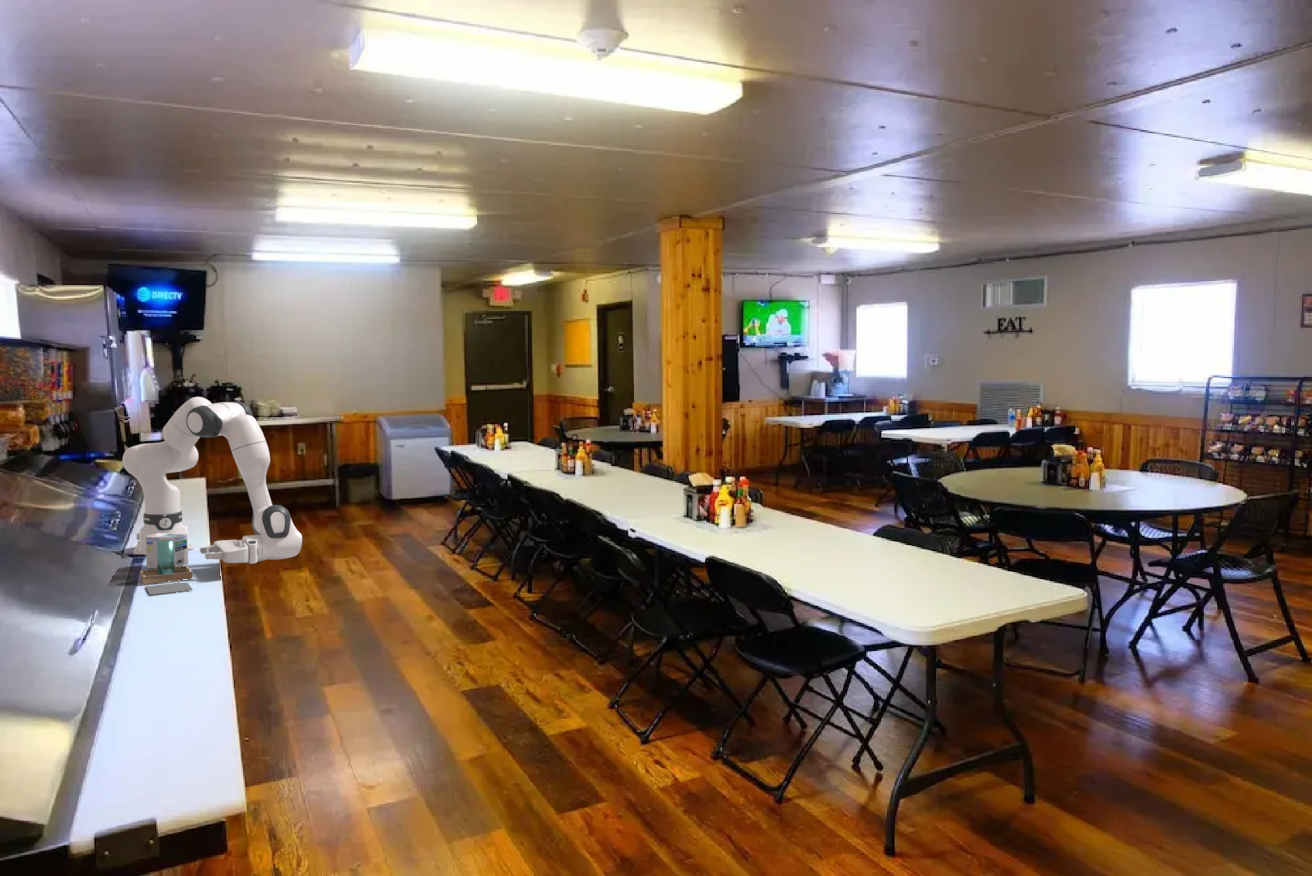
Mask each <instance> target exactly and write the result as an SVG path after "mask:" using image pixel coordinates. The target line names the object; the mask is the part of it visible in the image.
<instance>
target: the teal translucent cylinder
mask: <svg viewBox="0 0 1312 876" xmlns="http://www.w3.org/2000/svg"><path fill="white" fill-rule="evenodd" d="M156 569H157V575H165V574H174V573H175V550H174V540H160V541H157V568H156Z"/></svg>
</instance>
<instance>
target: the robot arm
mask: <svg viewBox="0 0 1312 876" xmlns="http://www.w3.org/2000/svg"><path fill="white" fill-rule="evenodd" d="M220 436H223V437H224V438H225V439H226V440H227V442H228V444H229V448H230V452H231V453H232V457H233V460H234V462H235V464H236V467H237V469H238V470H239V473H240V475H241V477H242V479H243V482H244V486H245V488H246V489H245V490H246V491H247V495H248V498H249V502H250V506H251V510H252V518H251V528H252V531H253V533H254V534H252V535H251V534H249V535H244V536H242V539H227V540H225V539H223V540H216V541H214V542H213V545H209V546H208V545H207V546H205V547H204V546H202V547H200V548H199V553H200V554H202V555H203V554H204V558H205V559H206V560H221V561H223V562H224V563H226V564H243V563H244V564H247V563H248V564H250V565H252V564H257V562H263V561H266V560H273V561H274V560H276V561H277V560H284V559H288V558H293V557H296V556H297V555H299V553H300V552H301V550H302V547H303V541H304V540H303V535H302V533H301V532H300V531H299V530H298V529H297V527H296V526H295V524H294V523H293V520H292V516H291V513H290V512H289V510H288V509H287V508H286V507H284V506H283V505H279V504H273V502H272V499H271V496H270V493H269V490H268V486H267V473H268V469H269V467H270V463H271V455H270V450H269V446H268V443H267V440H266V438H265V436H264V432H263V431H262V428H261V427H260V425H259V423H258V421H257V420H256V418H255V417H254V415H253V411H252V409H251V407H250V406H249V405H248V404H246V403H244V402H241V401H225V402H224V401H223V402H216V403H212V402H211V400H208V399H207V398H205V397H203V396H195V397H194V396H193V397H191V398H190V399H188V400H187V401H185V402H184V403H183V404H182V405H181V406H180V407H179V408H178V409H177V410H176V411H175V412H174V413H173V415H172V416H171V417H170V419H168V421H167V423H166V424H165V425H164V426H163V428H162V437H163V440H164V441H160V442H154V443H153V442H152V443H149V442H148V443H141V444H138V445H133V446H131V447H128V448H127V449H126V450H124V453H123V456H122V460H121V461H122V465H123V468H124V469H125V471H127V473H128V474H130V475H132V476H133V477H134V478H135V479H136V480H137V481H138V482H139V484H140V486H141V490H142V492H143V501H144V503H143V504H144V513H143V517H142V519H143V522H142V523H143V526H142V528H140V529H139V532H137V533H136V540H137V544H136V546H135V548H134V550H133V551H132V554H133V555H144V556H146V536H149V535H153V534H157V533H169V534H187V536H189V535H188V534H189V533H188V526H186V525H185V524H184V523H183V522H182V521H183V516H184V515H183V511H182V510H181V491H180V489H179V488H178V487H177V486H176V485H175V484H173V483H170V482H169V481H168V479H167V474H171V473H178V472H179V473H180V472H183V471H187V470H190V469H192V468H194V467H195V466H196V465H197V463H198V460H199V451H198V449H197V448H196V446H195V445H196V443H198V441H199V439H200V438H217V437H220ZM194 547H195V546H194V545H193V544H190V543H188V551H189V550H193V549H194Z"/></svg>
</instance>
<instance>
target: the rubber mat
mask: <svg viewBox="0 0 1312 876" xmlns="http://www.w3.org/2000/svg"><path fill="white" fill-rule="evenodd" d="M144 586H145V590H146V591H148V592H147V593H148V595H149V597H153V595H155V596H161V595H160V594H163V595H169V594H177V593H176V592H179V593H182V592H181V591H187V592H189V591H188V590H193V588H192V587H191V585H190V583H189V582H187V583H180V582H170V583H162V584H153V585H144Z"/></svg>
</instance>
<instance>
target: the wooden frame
mask: <svg viewBox="0 0 1312 876" xmlns="http://www.w3.org/2000/svg"><path fill="white" fill-rule="evenodd" d="M139 574H140V575H139V577H140V578H141V579H140V580H141V582H142V581H143V582H142V584H143V585H144V586H150V585H149V584H151V585H158V584H157V583H160V584H164V583H163V582H168V581H177V582H179V581H178V580H183V579H191V578H192V579H193V571H192V570H191V568H190V567H189V565H187V566H178V567H175V573H174V574H165V575H157V568H149V569H142V570H139ZM168 583H169V582H168Z"/></svg>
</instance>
